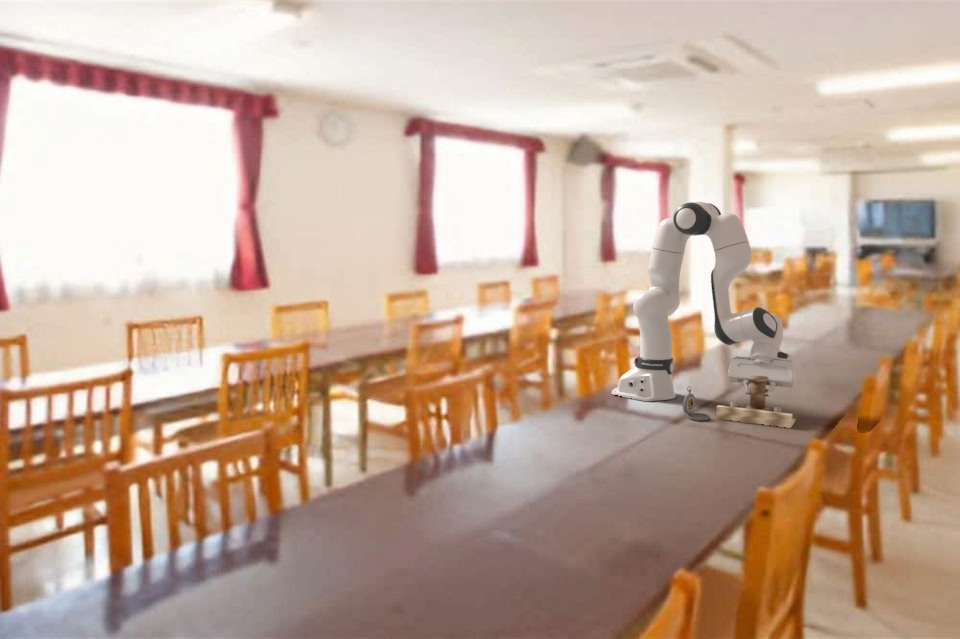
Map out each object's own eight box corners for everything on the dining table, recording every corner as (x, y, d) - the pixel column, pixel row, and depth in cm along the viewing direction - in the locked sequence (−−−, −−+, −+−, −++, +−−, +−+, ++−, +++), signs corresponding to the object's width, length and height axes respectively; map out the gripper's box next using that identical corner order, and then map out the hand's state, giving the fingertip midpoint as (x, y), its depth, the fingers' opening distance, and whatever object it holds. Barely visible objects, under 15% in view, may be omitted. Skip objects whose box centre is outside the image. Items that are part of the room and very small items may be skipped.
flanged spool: (743, 412, 222) (744, 378, 220) (747, 407, 228) (748, 374, 226) (767, 414, 218) (768, 380, 217) (771, 409, 224) (772, 376, 223)
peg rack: (716, 418, 224) (716, 403, 223) (723, 411, 233) (723, 396, 232) (791, 428, 213) (791, 412, 212) (795, 420, 221) (796, 404, 221)
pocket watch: (711, 422, 221) (712, 390, 219) (683, 420, 222) (684, 389, 221) (708, 415, 229) (708, 385, 227) (681, 414, 230) (681, 384, 229)
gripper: (729, 350, 232) (722, 385, 225) (797, 355, 221) (791, 392, 214) (732, 361, 236) (724, 396, 229) (798, 366, 226) (792, 403, 219)
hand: (757, 394), depth 222 cm, fingers closed on flanged spool, 4 cm apart
